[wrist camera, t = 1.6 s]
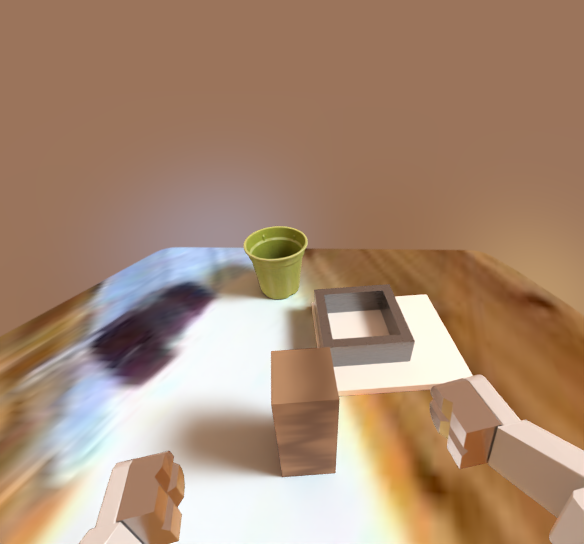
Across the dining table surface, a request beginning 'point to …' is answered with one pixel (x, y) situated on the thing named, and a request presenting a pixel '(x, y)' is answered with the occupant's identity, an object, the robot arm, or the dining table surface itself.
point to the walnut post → (305, 410)
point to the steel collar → (363, 348)
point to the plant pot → (277, 259)
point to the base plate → (399, 375)
